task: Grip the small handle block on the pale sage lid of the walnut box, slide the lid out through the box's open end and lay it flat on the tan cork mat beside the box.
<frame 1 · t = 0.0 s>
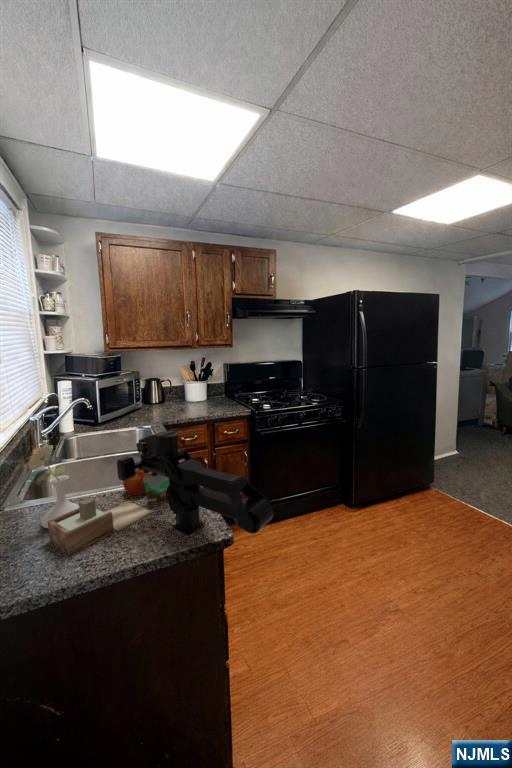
hand: (130, 456, 104), 17 cm above the worktop, tool horizontal, fingers open, 9 cm apart
mat: (123, 515, 98), on the worktop
flower in vase: (61, 523, 95), on the worktop
lid: (83, 521, 88), point 4 cm above the worktop, touching box
food container: (162, 498, 110), on the worktop
fruit: (138, 492, 114), on the worktop
box: (82, 536, 88), on the worktop
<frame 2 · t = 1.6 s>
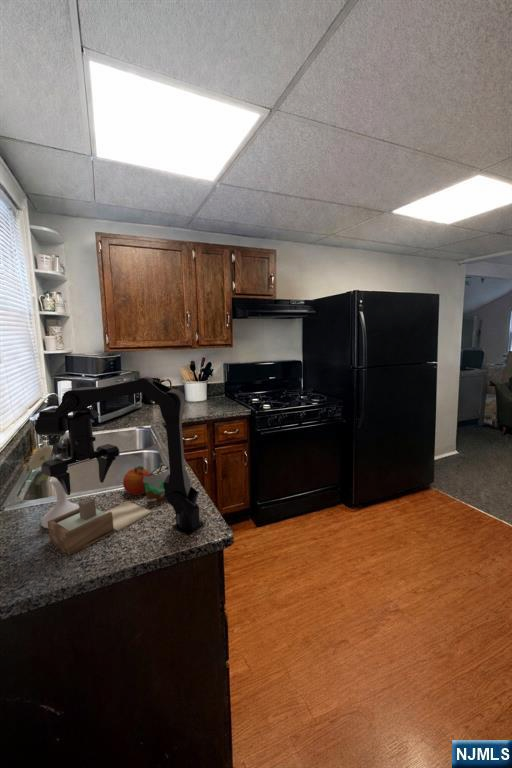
hand: (85, 488, 89), 13 cm above the worktop, tool pointing down, fingers open, 9 cm apart
nothing on the worktop moved.
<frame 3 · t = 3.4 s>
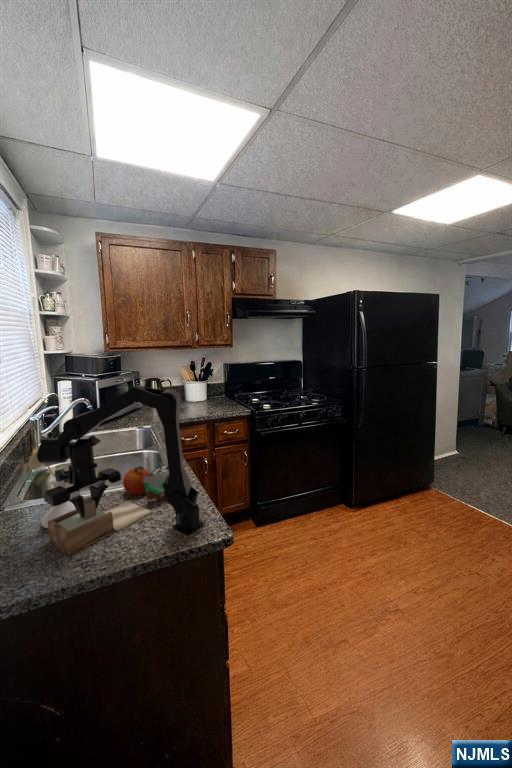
hand: (88, 514, 89), 6 cm above the worktop, tool pointing down, fingers closed on lid, 3 cm apart
lid: (83, 521, 88), point 4 cm above the worktop, touching box, gripper
everything else where it was.
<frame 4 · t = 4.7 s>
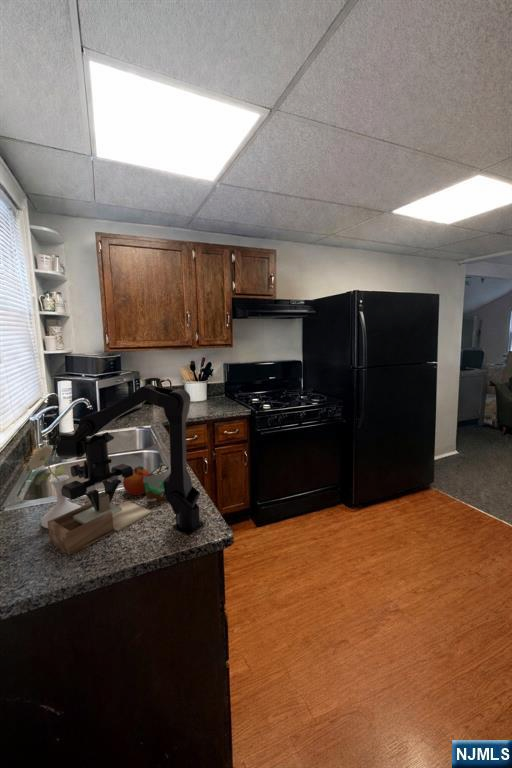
hand: (102, 507, 93), 6 cm above the worktop, tool pointing down, fingers closed on lid, 3 cm apart
lid: (98, 514, 92), point 4 cm above the worktop, touching gripper
everything else where it was.
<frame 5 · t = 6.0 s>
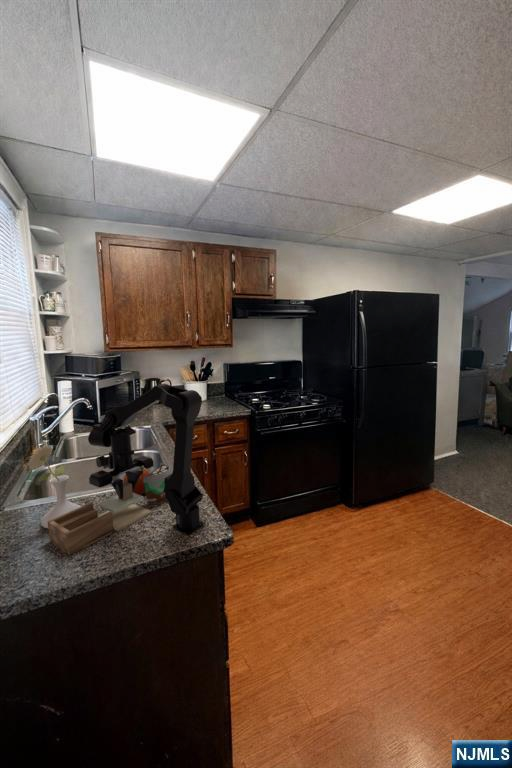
hand: (125, 496, 99), 6 cm above the worktop, tool pointing down, fingers closed on lid, 3 cm apart
lid: (121, 502, 98), point 4 cm above the worktop, touching gripper
everything else where it was.
when the fingers open (3 cm above the worktop, at t = 7.4 s): lid stays where it is, resting on mat.
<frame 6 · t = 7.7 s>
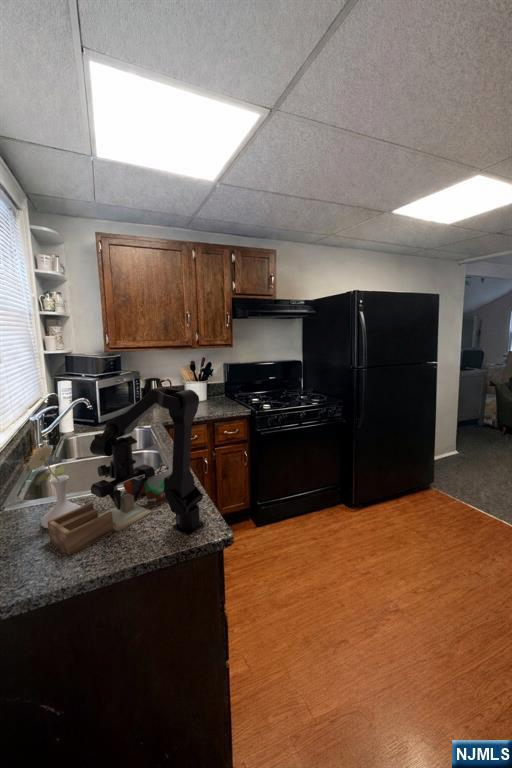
hand: (127, 505, 99), 3 cm above the worktop, tool pointing down, fingers open, 5 cm apart
lid: (123, 514, 99), resting on mat
food container: (162, 497, 110), on the worktop, touching gripper
everything else where it was.
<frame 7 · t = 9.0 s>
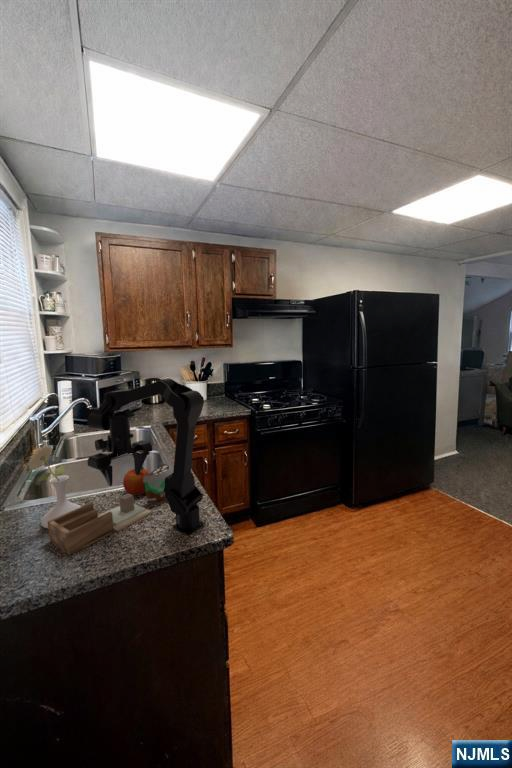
hand: (124, 480, 98), 11 cm above the worktop, tool pointing down, fingers open, 9 cm apart
food container: (162, 497, 110), on the worktop
everything else where it was.
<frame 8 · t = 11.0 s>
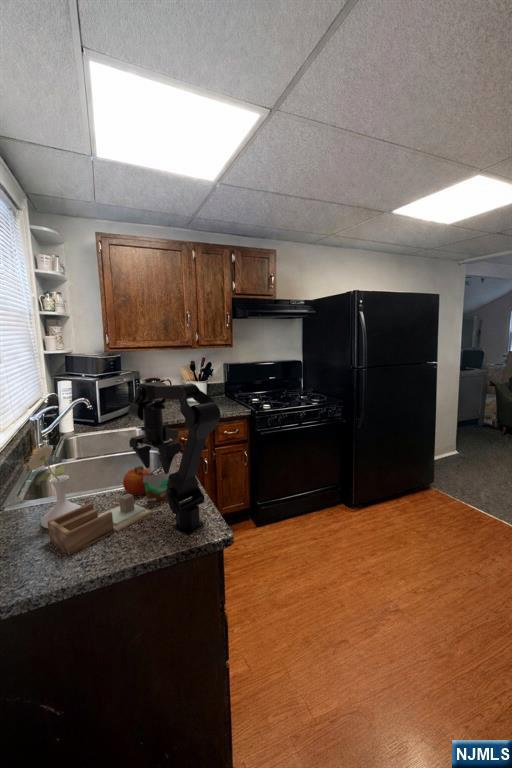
hand: (157, 470, 100), 13 cm above the worktop, tool pointing down, fingers open, 9 cm apart
nothing on the worktop moved.
at the end: lid inside the target area (1.9 cm from its centre), resting on mat; lid tilted 0°; the gripper is holding nothing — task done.
